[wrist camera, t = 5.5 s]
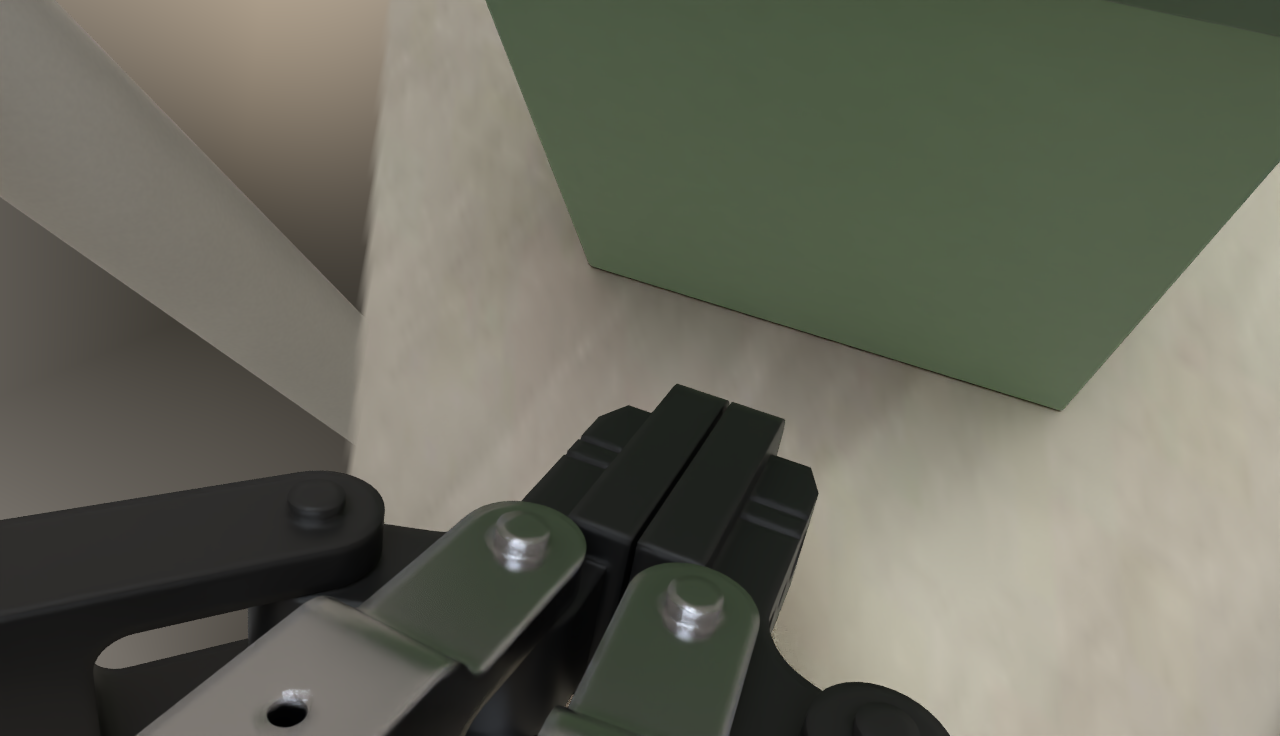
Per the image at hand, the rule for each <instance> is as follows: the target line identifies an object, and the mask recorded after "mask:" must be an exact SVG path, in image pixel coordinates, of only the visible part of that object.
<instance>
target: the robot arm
mask: <svg viewBox="0 0 1280 736" xmlns="http://www.w3.org/2000/svg"><path fill="white" fill-rule="evenodd" d="M784 425H785V419H782V418H779V417H776V416H773V415H770V414H767V413H764V412H761V411H758V410H755V409H752V408H749V407H746V406H743V405H740V404H737V403H734V402H732V403H731V404H730V405H729V401H728V400H725V399H722V398H719V397H716V396H713V395H710V394H707V393H704V392H701V391H698V390H695V389H692V388H689V387H686V386H683V385H680V384H676V385H675V386H674V387H673V388H672V389H671V390H670V392H669V393H668V394H667V395H666V396H665V398H664V399H663V400H662V401H661V403H660V404H659V405H658V406H657V407H656V409H655V410H654V411H653V412H652V413H649V412H647V411H644V410H641V409H638V408H635V407H632V406H629V405H628V406H625V407H623V408H620V409H618V410H615V411H612V412H610V413H607V414H605V415H602V416H600V417H598V418H597V419H596V421H595V422H594V423H593V424H592V425H591V426H590V427H589V428H588V429H587V430H586V431H585V432H584V434H583V435H582V437H581V439H580V440H579V439H578V440H577V441H576V442H575V443H574V444H573V446H572V447H571V448H570V449H569V450H568V451H567V454H566V455H563V456H562V457H561V459H560V460H559V461H558V462H557V463H556V464H555V465H554V466H553V467H552V468H551V469H550V470H549V472H548V473H547V474H546V475H545V476H544V477H543V478H542V479H541V480H540V481H539V482H538V484H537V485H536V486H535V487H534V488H533V489H532V490H531V491H530V492H529V493H528V494H527V495H526V497H525V498H524V499H523V500H522V501H504V502H497V503H492V504H488V505H485V506H482V507H480V508H478V509H476V510H474V511H472V512H471V513H470V514H468V515H467V516H466V517H464V518H463V519H462V520H461V521H460V522H458V523H457V524H456V525H455V526H454V527H453V528H451V529H450V530H449V531H448V532H438V531H429V530H422V529H415V528H408V527H401V526H395V525H388V524H384V514H385V507H384V502H383V499H382V497H381V495H380V494H379V493H378V491H377V490H376V489H375V488H373V487H372V486H371V485H370V484H368V483H367V482H365V481H363V480H361V479H359V478H357V477H354V476H351V475H347V474H344V473H338V472H332V471H305V472H297V473H291V474H285V475H279V476H273V477H266V478H261V479H254V480H248V481H241V482H235V483H229V484H223V485H216V486H210V487H204V488H198V489H191V490H186V491H179V492H173V493H167V494H161V495H155V496H148V497H142V498H135V499H130V500H123V501H117V502H111V503H104V504H98V505H92V506H86V507H80V508H73V509H67V510H61V511H55V512H49V513H42V514H36V515H30V516H23V517H18V518H11V519H5V520H0V736H950V735H949V733H948V732H947V731H946V729H945V728H944V727H943V726H942V724H941V723H940V722H939V721H938V720H937V719H936V718H935V717H934V716H933V715H932V714H931V713H930V712H929V711H928V710H926V709H925V708H924V707H923V706H921V705H920V704H919V703H917V702H915V701H914V700H912V699H911V698H909V697H907V696H905V695H903V694H901V693H899V692H897V691H895V690H892V689H889V688H887V687H884V686H880V685H876V684H871V683H863V682H846V683H841V684H836V685H834V686H831V687H829V688H826V689H825V690H823V691H821V690H820V689H819V688H817V687H816V686H814V685H813V684H811V683H810V682H809V681H807V680H806V679H805V678H803V677H802V676H801V675H799V674H798V673H797V672H796V671H795V670H794V669H793V668H792V667H791V666H790V665H789V664H788V663H787V662H786V661H785V660H784V658H783V657H782V656H781V654H780V653H779V651H778V650H777V648H776V646H775V644H774V642H773V639H772V637H771V632H772V630H773V628H774V625H775V623H776V620H777V618H778V615H779V612H780V610H781V607H782V605H783V602H784V600H785V597H786V595H787V592H788V589H789V587H790V584H791V581H792V578H793V574H794V571H795V568H796V565H797V561H798V558H799V555H800V552H801V548H802V545H803V542H804V539H805V536H806V532H807V529H808V526H809V523H810V519H811V516H812V513H813V510H814V506H815V503H816V500H817V497H818V494H819V493H818V490H817V486H816V483H815V480H814V476H813V473H812V470H811V468H810V467H807V466H804V465H801V464H798V463H796V462H793V461H790V460H787V459H784V458H781V457H778V456H777V452H778V449H779V445H780V442H781V438H782V434H783V430H784ZM246 608H248V639H244V640H240V641H235V642H231V643H227V644H223V645H219V646H215V647H211V648H206V649H203V650H198V651H194V652H190V653H186V654H181V655H177V656H173V657H169V658H165V659H161V660H156V661H152V662H148V663H144V664H140V665H136V666H132V667H127V668H122V669H108V668H103V667H100V666H97V665H96V664H95V661H96V660H97V657H98V656H99V655H100V654H101V652H102V651H103V650H104V649H105V648H106V647H107V646H109V645H110V644H112V643H113V642H115V641H117V640H118V639H121V638H123V637H125V636H128V635H132V634H135V633H140V632H144V631H148V630H153V629H157V628H162V627H166V626H171V625H175V624H180V623H184V622H188V621H192V620H197V619H202V618H206V617H211V616H215V615H220V614H224V613H228V612H233V611H237V610H242V609H246ZM572 694H573V695H574V696H573V698H572V700H571V702H570V704H569V706H568V708H567V707H565V705H566V704H567V702H568V700H569V699H570V697H571V696H572Z"/></svg>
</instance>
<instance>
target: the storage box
mask: <svg viewBox="0 0 1280 736" xmlns="http://www.w3.org/2000/svg"><path fill="white" fill-rule="evenodd" d="M486 3H487V5H488V8H489V10H490V13H491V15H492V18H493V21H494V23H495V26H496V28H497V31H498V33H499V36H500V38H501V41H502V43H503V46H504V49H505V51H506V54H507V56H508V59H509V61H510V64H511V66H512V69H513V71H514V74H515V77H516V79H517V82H518V84H519V87H520V89H521V92H522V94H523V97H524V99H525V102H526V105H527V107H528V110H529V112H530V115H531V117H532V120H533V122H534V125H535V127H536V130H537V133H538V135H539V138H540V140H541V143H542V145H543V148H544V150H545V153H546V155H547V158H548V161H549V163H550V166H551V168H552V171H553V173H554V176H555V178H556V181H557V183H558V186H559V189H560V191H561V194H562V196H563V199H564V201H565V204H566V206H567V209H568V211H569V214H570V217H571V219H572V222H573V224H574V227H575V229H576V232H577V234H578V237H579V239H580V242H581V245H582V247H583V250H584V252H585V255H586V257H587V260H588V262H589V264H590V265H591V266H593V267H596V268H600V269H603V270H606V271H609V272H613V273H616V274H619V275H622V276H625V277H629V278H632V279H635V280H638V281H642V282H645V283H648V284H651V285H655V286H658V287H661V288H664V289H668V290H671V291H674V292H677V293H681V294H684V295H687V296H690V297H694V298H697V299H700V300H703V301H707V302H710V303H713V304H716V305H719V306H723V307H726V308H729V309H732V310H736V311H739V312H742V313H745V314H749V315H752V316H755V317H758V318H762V319H765V320H768V321H771V322H775V323H778V324H781V325H784V326H788V327H791V328H794V329H797V330H801V331H804V332H807V333H810V334H813V335H817V336H820V337H823V338H826V339H830V340H833V341H836V342H839V343H843V344H846V345H849V346H852V347H856V348H859V349H862V350H865V351H869V352H872V353H875V354H878V355H882V356H885V357H888V358H891V359H895V360H898V361H901V362H904V363H908V364H911V365H914V366H917V367H920V368H924V369H927V370H930V371H933V372H937V373H940V374H943V375H946V376H950V377H953V378H956V379H959V380H963V381H966V382H969V383H972V384H976V385H979V386H982V387H985V388H989V389H992V390H995V391H998V392H1002V393H1005V394H1008V395H1011V396H1014V397H1018V398H1021V399H1024V400H1027V401H1031V402H1034V403H1037V404H1040V405H1044V406H1047V407H1050V408H1053V409H1057V410H1063V409H1064V408H1065V407H1066V406H1067V405H1068V404H1069V402H1070V401H1071V400H1072V399H1073V398H1074V397H1075V396H1076V394H1077V393H1078V392H1079V391H1080V390H1081V389H1082V388H1083V386H1084V385H1085V384H1086V383H1087V382H1088V381H1089V380H1090V378H1091V377H1092V376H1093V375H1094V374H1095V373H1096V372H1097V370H1098V369H1099V368H1100V367H1101V366H1102V365H1103V363H1104V362H1105V361H1106V360H1107V359H1108V358H1109V357H1110V355H1111V354H1112V353H1113V352H1114V351H1115V350H1116V349H1117V347H1118V346H1119V345H1120V344H1121V343H1122V342H1123V341H1124V339H1125V338H1126V337H1127V336H1128V335H1129V334H1130V333H1131V331H1132V330H1133V329H1134V328H1135V327H1136V326H1137V325H1138V323H1139V322H1140V321H1141V320H1142V319H1143V318H1144V316H1145V315H1146V314H1147V313H1148V312H1149V311H1150V310H1151V308H1152V307H1153V306H1154V305H1155V304H1156V303H1157V302H1158V300H1159V299H1160V298H1161V297H1162V296H1163V295H1164V294H1165V292H1166V291H1167V290H1168V289H1169V288H1170V287H1171V286H1172V284H1173V283H1174V282H1175V281H1176V280H1177V279H1178V277H1179V276H1180V275H1181V274H1182V273H1183V272H1184V271H1185V269H1186V268H1187V267H1188V266H1189V265H1190V264H1191V263H1192V261H1193V260H1194V259H1195V258H1196V257H1197V256H1198V255H1199V253H1200V252H1201V251H1202V250H1203V249H1204V248H1205V247H1206V245H1207V244H1208V243H1209V242H1210V241H1211V240H1212V238H1213V237H1214V236H1215V235H1216V234H1217V233H1218V232H1219V230H1220V229H1221V228H1222V227H1223V226H1224V225H1225V224H1226V222H1227V221H1228V220H1229V219H1230V218H1231V217H1232V216H1233V214H1234V213H1235V212H1236V211H1237V210H1238V209H1239V208H1240V206H1241V205H1242V204H1243V203H1244V202H1245V201H1246V200H1247V198H1248V197H1249V196H1250V195H1251V194H1252V193H1253V191H1254V190H1255V189H1256V188H1257V187H1258V186H1259V185H1260V183H1261V182H1262V181H1263V180H1264V179H1265V178H1266V177H1267V175H1268V174H1269V173H1270V172H1271V171H1272V170H1273V169H1274V167H1275V166H1276V165H1277V164H1278V163H1279V162H1280V0H486Z"/></svg>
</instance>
